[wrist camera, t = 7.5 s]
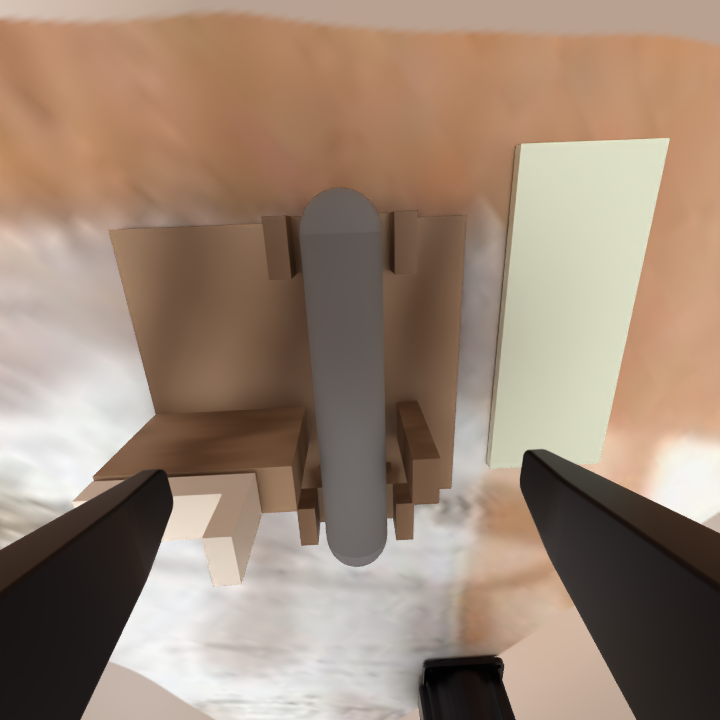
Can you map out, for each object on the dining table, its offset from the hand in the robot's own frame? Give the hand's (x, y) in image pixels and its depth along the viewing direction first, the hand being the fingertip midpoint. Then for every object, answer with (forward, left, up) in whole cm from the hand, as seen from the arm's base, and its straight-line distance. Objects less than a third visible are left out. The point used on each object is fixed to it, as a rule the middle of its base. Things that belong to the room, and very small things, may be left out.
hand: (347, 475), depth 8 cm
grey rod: (0, +3, -8) cm, 9 cm away
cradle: (+2, +3, -13) cm, 13 cm away
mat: (-12, +1, -13) cm, 18 cm away
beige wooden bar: (+8, +5, -6) cm, 11 cm away
